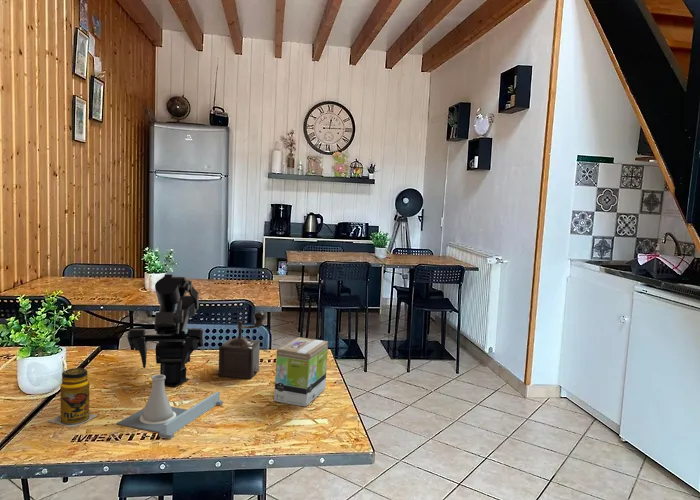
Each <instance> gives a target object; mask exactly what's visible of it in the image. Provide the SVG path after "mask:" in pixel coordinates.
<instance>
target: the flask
mask: <svg viewBox="0 0 700 500" xmlns="http://www.w3.org/2000/svg"><path fill="white" fill-rule="evenodd" d="M165 378H166V377H165V375H162V374H154V375H151V380H152V385H151V390H150V394H149V396H148V399H147V401H146V404H145V406H144V407H143V409H144V411H143V413H142V417H143V419H144V420H148V421H152V422H155V421H161V420H166V419H168V418H170V417H172V416H174V414H173V411H172V408H171V407H172V406H171V404H170V401H169V398H168V395H167V392H166V385H164V379H165Z"/></svg>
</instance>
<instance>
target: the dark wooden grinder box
mask: <svg viewBox="0 0 700 500" xmlns="http://www.w3.org/2000/svg"><path fill="white" fill-rule="evenodd" d="M253 319H254V320H255V323H254V325H243V322H242V321H241V320H239V321H238V322H237V328H238V336H237V337H235V338H232V339H228V340H227V341H225V342H224V343H223V344H221V346H219V348H218V378H227V379H237V380H238V379H240V380H241V379H242V380H251V379H252V378H253V377H255V376H256V375H257V373H258V372H259V369H260V349H261V348H260V344H261V342H260V340H254V339H253V340H252V337H250V338H247V337H246V336H242V334H243V333H242V330H244V329H255V328H257V329H259V328H260V327H263V326H264V324H263V323H264V320H265V319H266V314H265V313H264V312H262V311H257V312H255V313H254V314H253Z"/></svg>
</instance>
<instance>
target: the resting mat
mask: <svg viewBox="0 0 700 500" xmlns="http://www.w3.org/2000/svg"><path fill="white" fill-rule="evenodd" d="M171 408H172V411H173V414H174V416H172V417H170V418H168V419H166V420H161V421H155V422H152V421H148V420H144V419H143V417H142V413H143V411H144V408H142V409H140V410H138V411H136V412H134V413H133V414H131V415H129V416H126V417H125V418H123V419H121V420H120V421H118V422H116V425H119V426H123V427H129V428H133V429H139V430H142V431H148V432H152V433H153V432H154V433H158V434H159V433H160V432H162V431H164V424H165V423H167V422H169V421H170V420H172V419H173V418H175V417H177V416H178V415H180V414H181V413H183V412H185V411H186V410H188V409H187V408H186V409H185V408H180V407H175V406H171Z"/></svg>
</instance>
